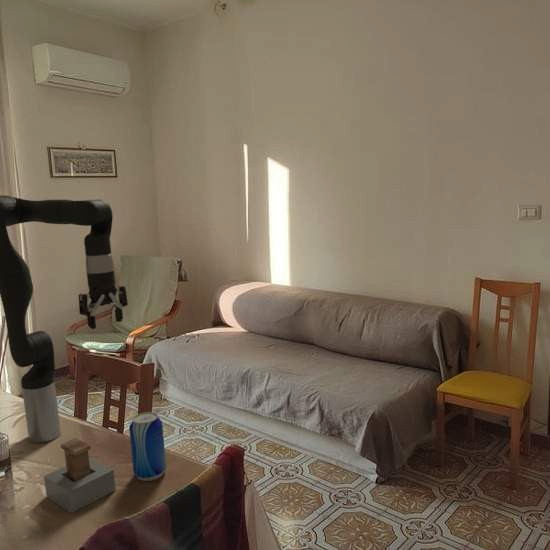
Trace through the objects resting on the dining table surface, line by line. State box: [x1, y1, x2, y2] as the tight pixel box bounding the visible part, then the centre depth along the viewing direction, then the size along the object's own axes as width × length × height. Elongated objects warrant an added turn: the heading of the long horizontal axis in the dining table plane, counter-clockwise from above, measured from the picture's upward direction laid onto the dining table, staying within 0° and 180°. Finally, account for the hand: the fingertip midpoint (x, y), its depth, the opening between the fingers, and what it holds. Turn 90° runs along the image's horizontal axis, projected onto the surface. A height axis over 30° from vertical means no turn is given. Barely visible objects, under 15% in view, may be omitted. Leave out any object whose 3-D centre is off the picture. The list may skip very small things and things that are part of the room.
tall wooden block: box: [60, 437, 92, 482], centre depth 133 cm, size 7×4×12 cm, turn 50°
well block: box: [43, 456, 116, 514], centre depth 134 cm, size 12×12×6 cm
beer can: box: [128, 411, 167, 482], centre depth 140 cm, size 8×8×16 cm
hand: (106, 324), depth 155 cm, fingers open, 8 cm apart
